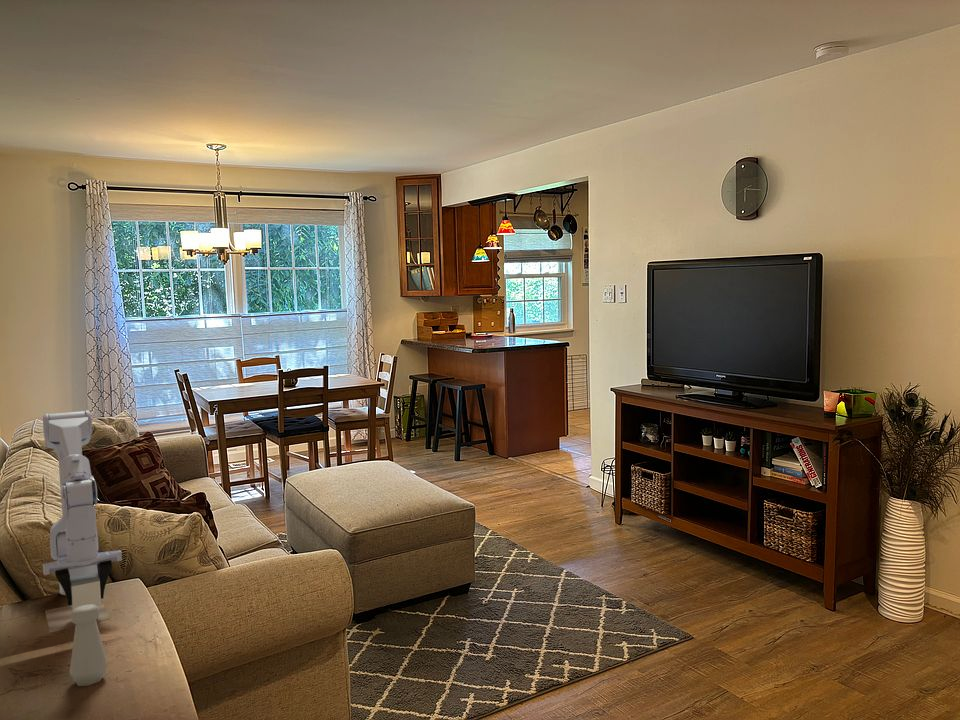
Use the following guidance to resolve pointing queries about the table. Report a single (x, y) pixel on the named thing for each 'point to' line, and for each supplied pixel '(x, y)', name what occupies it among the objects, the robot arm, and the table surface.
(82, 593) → the matte gray cube
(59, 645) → the table surface
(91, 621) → the salt shaker
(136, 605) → the table surface
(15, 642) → the table surface
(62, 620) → the stand
